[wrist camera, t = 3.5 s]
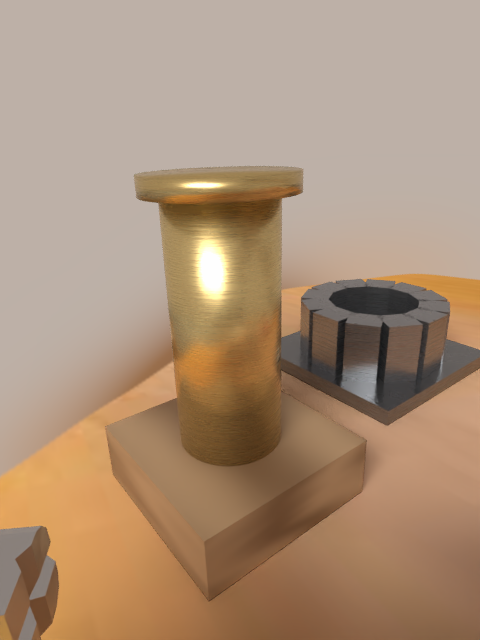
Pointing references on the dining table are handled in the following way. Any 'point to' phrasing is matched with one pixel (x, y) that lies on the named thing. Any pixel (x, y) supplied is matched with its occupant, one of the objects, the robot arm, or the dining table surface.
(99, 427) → the dining table surface
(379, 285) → the hub
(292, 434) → the stand
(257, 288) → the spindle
